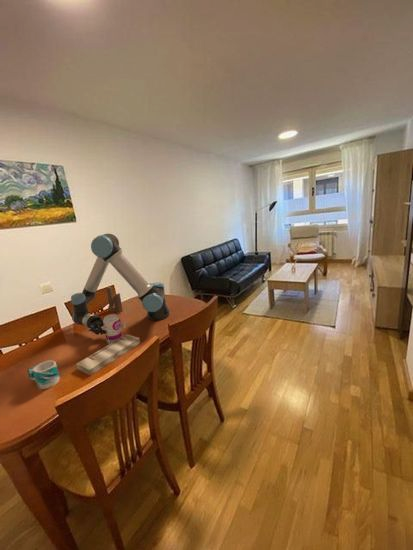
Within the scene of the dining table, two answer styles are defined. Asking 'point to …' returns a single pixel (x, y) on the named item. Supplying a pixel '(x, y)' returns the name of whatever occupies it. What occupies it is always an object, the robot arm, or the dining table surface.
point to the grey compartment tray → (107, 354)
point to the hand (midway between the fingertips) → (118, 329)
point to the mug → (44, 374)
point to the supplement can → (112, 327)
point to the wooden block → (114, 301)
